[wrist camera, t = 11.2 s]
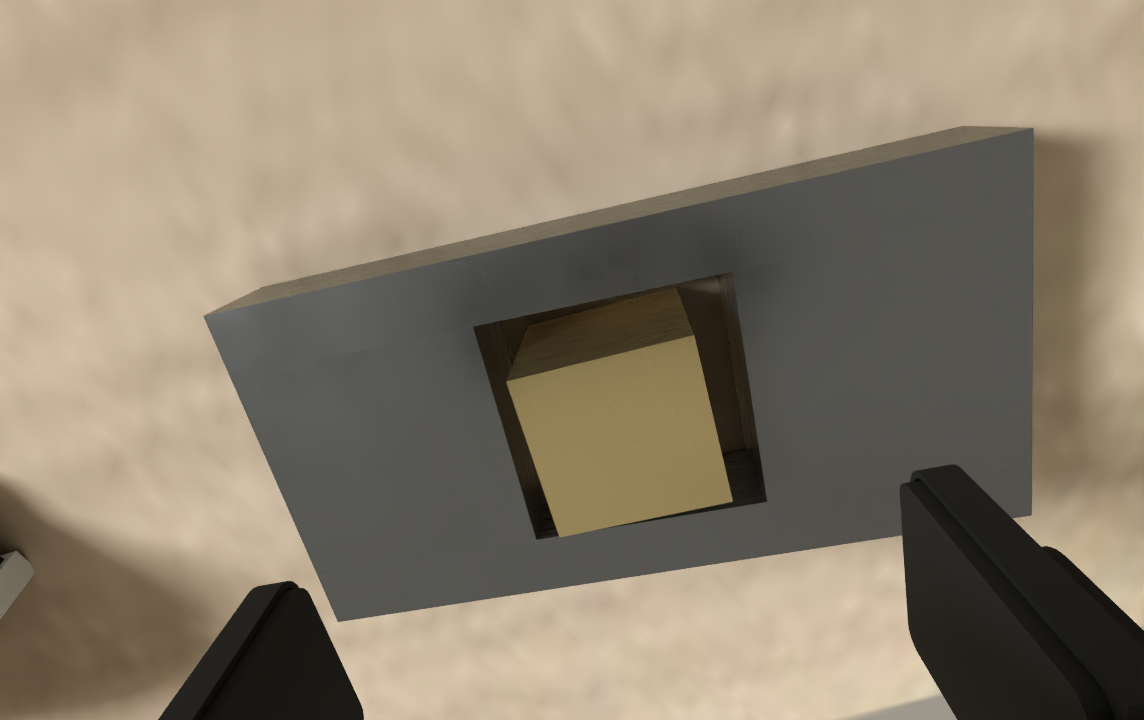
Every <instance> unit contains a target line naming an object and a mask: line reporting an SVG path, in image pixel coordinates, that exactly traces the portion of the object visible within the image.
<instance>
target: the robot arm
mask: <svg viewBox="0 0 1144 720" xmlns="http://www.w3.org/2000/svg"><path fill="white" fill-rule="evenodd" d="M900 506H901V522H902V537H903V552H904V567H905V582H906V598H907V613H908V625H909V631H910V635H911V638H912V641H913V643H914V646H915V648H916V650H917V652H918V654H919V656H920V657H921V659H922V661H923V662H924V664H925V666H926V667H927V669H928V671H929V672H930V674H931V676H932V678H933V679H934V681H935V683H936V684H937V686H938V688H939V689H940V691H941V693H942V694H943V696H944V698H945V700H946V701H947V703H948V705H949V706H950V708H951V710H952V711H953V713H954V715H955V716H956V718H957V720H1144V631H1143V630H1142V629H1141V628H1140V627H1139V626H1138V625H1137V624H1136V623H1135V622H1134V621H1133V620H1132V619H1131V618H1130V617H1129V616H1128V615H1127V614H1126V613H1125V612H1124V611H1123V610H1121V609H1120V608H1119V607H1118V606H1117V605H1116V604H1115V603H1114V602H1113V601H1112V600H1111V599H1110V598H1109V597H1108V596H1107V595H1106V594H1105V593H1104V592H1103V591H1102V590H1101V589H1099V588H1098V587H1097V586H1096V585H1095V584H1094V583H1093V582H1092V581H1091V580H1090V579H1089V578H1088V577H1087V576H1086V575H1085V574H1084V573H1083V572H1082V571H1081V570H1080V569H1079V568H1077V567H1076V566H1075V565H1074V564H1073V563H1072V562H1071V561H1070V560H1069V559H1068V558H1067V557H1066V556H1065V555H1063V554H1062V553H1061V552H1059V551H1058V550H1057V549H1054V548H1051V547H1048V546H1045V547H1041V546H1040V545H1039V544H1038V543H1037V542H1036V541H1035V540H1034V539H1033V538H1032V537H1030V536H1029V535H1028V534H1027V533H1026V532H1025V531H1024V530H1023V529H1022V528H1021V527H1020V526H1019V525H1018V524H1017V523H1016V522H1015V521H1014V520H1013V519H1012V518H1011V517H1010V516H1009V515H1008V514H1007V513H1006V512H1005V511H1004V510H1003V509H1002V508H1001V507H1000V506H999V505H998V504H997V503H996V502H995V501H994V500H993V499H992V498H991V497H990V496H989V495H988V494H987V493H986V492H985V491H984V490H983V489H982V488H981V487H980V486H979V485H978V484H977V483H976V482H975V481H974V480H973V479H972V478H971V477H970V476H969V475H968V474H967V473H966V472H965V471H964V470H963V469H962V468H960V467H959V466H958V465H955V464H951V465H945V466H939V467H934V468H928V469H922V470H917V471H914V472H913V473H912V474H911V478H910V482H907V483H902V484H901V486H900ZM158 720H364V715H363V709H362V706H361V704H360V701H359V699H358V697H357V695H356V693H355V691H354V689H353V686H352V684H351V682H350V680H349V678H348V676H347V674H346V671H345V669H344V667H343V665H342V663H341V661H340V659H339V656H338V654H337V652H336V650H335V648H334V646H333V644H332V641H331V639H330V637H329V635H328V633H327V631H326V629H325V626H324V624H323V622H322V620H321V618H320V616H319V614H318V611H317V609H316V607H315V605H314V603H313V601H312V599H311V596H310V594H309V593H308V591H307V590H305V589H304V588H299V587H298V585H297V584H295V583H294V582H292V581H286V582H280V583H274V584H268V585H263V586H258V587H255V588H253V589H252V590H251V591H250V592H249V593H248V595H247V596H246V598H245V599H244V600H243V602H242V603H241V605H240V606H239V607H238V609H237V610H236V612H235V613H234V614H233V616H232V617H231V619H230V620H229V621H228V623H227V624H226V626H225V627H224V628H223V630H222V631H221V632H220V634H219V635H218V637H217V638H216V639H215V641H214V642H213V644H212V645H211V646H210V648H209V649H208V651H207V652H206V653H205V655H204V656H203V658H202V659H201V660H200V662H199V663H198V665H197V666H196V667H195V669H194V670H193V672H192V673H191V674H190V676H189V677H188V679H187V680H186V681H185V683H184V684H183V686H182V687H181V688H180V690H179V691H178V693H177V694H176V695H175V697H174V698H173V700H172V701H171V702H170V704H169V705H168V707H167V708H166V709H165V711H164V712H163V714H162V715H161V716H160V718H159V719H158Z"/></svg>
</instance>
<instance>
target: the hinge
mask: <svg viewBox="0 0 1144 720" xmlns="http://www.w3.org/2000/svg"><path fill="white" fill-rule="evenodd" d="M34 574H35V572H34V570H33V568H32V566H31V564H30V562H29V561H27V560H26V559H25V558H24V557H23V556H22V555H21V554H19V553H18V552H17V551H14V552H11V553H7V554H3V555H0V619H1V618H2V617H3V615H4V614H5V613H6V611H7V610H8V609H9V607H10V606H11V605H12V603H13V602H14V601H15V599H16V598H17V597H18V595H19V594H20V593H21V591H22V590H23V589H24V587H25V586H26V585H27V583H28V582H29V581H30V579H31V578H32V577H33V575H34Z"/></svg>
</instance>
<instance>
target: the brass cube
mask: <svg viewBox="0 0 1144 720" xmlns="http://www.w3.org/2000/svg"><path fill="white" fill-rule="evenodd" d="M506 383H507V386H508V389H509V392H510V394H511V397H512V400H513V403H514V406H515V409H516V412H517V415H518V418H519V421H520V424H521V427H522V429H523V432H524V435H525V438H526V441H527V444H528V447H529V450H530V453H531V456H532V459H533V462H534V464H535V467H536V470H537V473H538V476H539V479H540V482H541V485H542V488H543V491H544V494H545V497H546V499H547V502H548V505H549V508H550V511H551V514H552V517H553V520H554V523H555V526H556V529H557V532H558V534H559V537H564V536H569V535H574V534H579V533H584V532H589V531H593V530H598V529H603V528H608V527H613V526H618V525H622V524H627V523H632V522H637V521H642V520H647V519H651V518H656V517H661V516H666V515H671V514H675V513H680V512H685V511H690V510H695V509H700V508H704V507H709V506H714V505H719V504H724V503H729V502H733V499H732V495H731V491H730V487H729V482H728V478H727V474H726V469H725V465H724V461H723V456H722V452H721V448H720V444H719V439H718V435H717V431H716V426H715V422H714V418H713V414H712V409H711V405H710V401H709V396H708V392H707V388H706V383H705V379H704V375H703V371H702V366H701V362H700V358H699V353H698V349H697V345H696V340H695V336H694V333H693V331H692V328H691V325H690V323H689V320H688V317H687V315H686V312H685V309H684V307H683V304H682V302H681V299H680V296H679V294H678V291H677V288H676V287H675V288H671V289H667V290H663V291H659V292H656V293H652V294H648V295H644V296H640V297H636V298H632V299H629V300H625V301H621V302H617V303H613V304H609V305H605V306H602V307H598V308H594V309H590V310H586V311H582V312H578V313H575V314H571V315H567V316H563V317H559V318H555V319H551V320H548V321H544V322H540V323H536V324H532V325H528V328H527V330H526V333H525V335H524V338H523V340H522V343H521V345H520V348H519V350H518V353H517V355H516V358H515V360H514V363H513V366H512V368H511V371H510V373H509V376H508V378H507V381H506Z"/></svg>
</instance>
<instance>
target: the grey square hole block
mask: <svg viewBox="0 0 1144 720" xmlns="http://www.w3.org/2000/svg"><path fill="white" fill-rule="evenodd" d="M715 275H718V279H719V285H720V291H721V297H722V304H723V310H724V316H725V322H726V329H727V335H728V341H729V347H730V353H731V360H732V366H733V372H734V378H735V385H736V391H737V397H738V403H739V410H740V416H741V422H742V428H743V434H744V441H745V447H746V449H744V450H739V451H733V452H727V453H722V456H723V461H724V465H725V469H726V474H727V478H728V482H729V487H730V491H731V495H732V499H733V502H729V503H724V504H719V505H714V506H709V507H704V508H700V509H695V510H690V511H685V512H680V513H675V514H671V515H666V516H661V517H656V518H651V519H647V520H642V521H637V522H632V523H627V524H622V525H618V526H613V527H608V528H603V529H598V530H593V531H589V532H584V533H579V534H574V535H569V536H564V537H559V534H558V532H557V529H556V526H555V523H554V520H553V517H552V514H551V511H550V508H549V505H548V502H547V499H546V497H545V494H544V491H543V488H542V485H541V482H540V479H539V476H538V473H537V470H536V467H535V464H534V462H533V459H532V456H531V453H530V450H529V447H528V444H527V441H526V438H525V435H524V432H523V429H522V427H521V424H520V421H519V418H518V415H517V412H516V409H515V406H514V403H513V400H512V397H511V394H510V392H509V389H508V386H507V383H506V381H507V378H508V376H509V373H510V371H511V368H512V366H513V365H512V361H511V358H510V354H509V351H508V347H507V344H506V340H505V337H504V333H503V330H502V326H501V322H500V321H502V320H507V319H512V318H516V317H521V316H526V315H530V314H535V313H540V312H545V311H549V310H554V309H559V308H564V307H568V306H573V305H578V304H582V303H587V302H592V301H597V300H601V299H606V298H611V297H616V296H620V295H625V294H630V293H634V292H639V291H644V290H649V289H653V288H658V287H663V286H668V285H672V284H677V283H682V282H687V281H691V280H696V279H701V278H705V277H710V276H715ZM204 319H205V321H206V323H207V325H208V328H209V330H210V332H211V334H212V337H213V339H214V341H215V344H216V346H217V348H218V350H219V353H220V355H221V357H222V359H223V362H224V364H225V366H226V368H227V371H228V373H229V375H230V378H231V380H232V382H233V384H234V387H235V389H236V391H237V393H238V396H239V398H240V400H241V403H242V405H243V407H244V409H245V412H246V414H247V416H248V418H249V421H250V423H251V425H252V428H253V430H254V432H255V434H256V437H257V439H258V441H259V443H260V446H261V448H262V450H263V453H264V455H265V457H266V459H267V462H268V464H269V466H270V468H271V471H272V473H273V475H274V478H275V480H276V482H277V484H278V487H279V489H280V491H281V493H282V496H283V498H284V500H285V502H286V505H287V507H288V509H289V512H290V514H291V516H292V518H293V521H294V523H295V525H296V527H297V530H298V532H299V534H300V537H301V539H302V541H303V543H304V546H305V548H306V550H307V552H308V555H309V557H310V559H311V562H312V564H313V566H314V568H315V571H316V573H317V575H318V577H319V580H320V582H321V584H322V587H323V589H324V591H325V593H326V596H327V598H328V600H329V602H330V605H331V607H332V609H333V611H334V614H335V616H336V618H337V621H338V622H341V621H347V620H354V619H360V618H367V617H373V616H380V615H386V614H393V613H399V612H406V611H412V610H419V609H425V608H432V607H438V606H445V605H451V604H458V603H464V602H471V601H477V600H484V599H490V598H497V597H503V596H510V595H516V594H523V593H529V592H536V591H542V590H549V589H555V588H562V587H568V586H575V585H581V584H588V583H594V582H601V581H607V580H614V579H620V578H627V577H633V576H640V575H646V574H653V573H659V572H666V571H672V570H679V569H685V568H692V567H698V566H705V565H711V564H718V563H724V562H731V561H737V560H744V559H750V558H757V557H763V556H770V555H776V554H783V553H789V552H796V551H802V550H809V549H815V548H822V547H828V546H835V545H841V544H848V543H854V542H861V541H867V540H874V539H880V538H887V537H893V536H900V535H902V522H901V506H900V486H901V484H902V483H907V482H910V478H911V474H912V473H913V472H914V471H917V470H922V469H928V468H934V467H939V466H945V465H951V464H955V465H958V466H959V467H960V468H962V469H963V470H964V471H965V472H966V473H967V474H968V475H969V476H970V477H971V478H972V479H973V480H974V481H975V482H976V483H977V484H978V485H979V486H980V487H981V488H982V489H983V490H984V491H985V492H986V493H987V494H988V495H989V496H990V497H991V498H992V499H993V500H994V501H995V502H996V503H997V504H998V505H999V506H1000V507H1001V508H1002V509H1003V510H1004V511H1005V512H1006V513H1007V514H1008V515H1009V516H1010V517H1011V518H1017V517H1023V516H1030V515H1032V321H1033V128H1017V127H978V126H962V127H957V128H953V129H949V130H944V131H940V132H936V133H931V134H927V135H923V136H918V137H914V138H909V139H905V140H901V141H896V142H892V143H888V144H883V145H879V146H875V147H870V148H866V149H862V150H857V151H853V152H849V153H844V154H840V155H836V156H831V157H827V158H822V159H818V160H814V161H809V162H805V163H801V164H796V165H792V166H788V167H783V168H779V169H775V170H770V171H766V172H762V173H757V174H753V175H749V176H744V177H740V178H736V179H731V180H727V181H722V182H718V183H714V184H709V185H705V186H701V187H696V188H692V189H688V190H683V191H679V192H675V193H670V194H666V195H662V196H657V197H653V198H649V199H644V200H640V201H635V202H631V203H627V204H622V205H618V206H614V207H609V208H605V209H601V210H596V211H592V212H588V213H583V214H579V215H575V216H570V217H566V218H562V219H557V220H553V221H549V222H544V223H540V224H535V225H531V226H527V227H522V228H518V229H514V230H509V231H505V232H501V233H496V234H492V235H488V236H483V237H479V238H475V239H470V240H466V241H462V242H457V243H453V244H448V245H444V246H440V247H435V248H431V249H427V250H422V251H418V252H414V253H409V254H405V255H401V256H396V257H392V258H388V259H383V260H379V261H375V262H370V263H366V264H362V265H357V266H353V267H348V268H344V269H340V270H335V271H331V272H327V273H322V274H318V275H314V276H309V277H305V278H301V279H296V280H292V281H288V282H283V283H279V284H275V285H270V286H266V287H262V288H260V289H258V290H256V291H254V292H252V293H249V294H247V295H245V296H243V297H241V298H239V299H237V300H235V301H233V302H231V303H229V304H227V305H225V306H223V307H221V308H219V309H217V310H215V311H213V312H211V313H208V314H206V315H204Z"/></svg>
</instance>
